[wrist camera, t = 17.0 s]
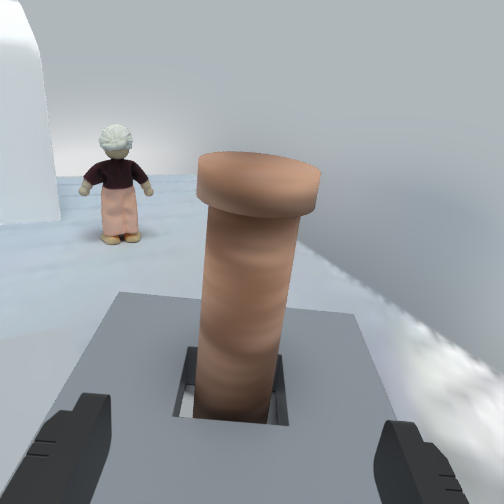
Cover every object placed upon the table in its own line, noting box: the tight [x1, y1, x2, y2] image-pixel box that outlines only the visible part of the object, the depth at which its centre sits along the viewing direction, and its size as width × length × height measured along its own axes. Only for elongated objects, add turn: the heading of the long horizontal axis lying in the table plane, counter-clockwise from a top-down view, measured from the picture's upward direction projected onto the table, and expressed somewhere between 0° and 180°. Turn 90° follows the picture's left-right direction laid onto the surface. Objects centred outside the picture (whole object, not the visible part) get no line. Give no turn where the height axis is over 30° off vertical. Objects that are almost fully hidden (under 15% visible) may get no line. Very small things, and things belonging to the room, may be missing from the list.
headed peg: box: [193, 152, 321, 424], centre depth 23 cm, size 6×6×16 cm
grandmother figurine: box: [79, 124, 154, 245], centre depth 47 cm, size 8×4×13 cm, turn 128°
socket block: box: [0, 292, 397, 504], centre depth 25 cm, size 18×18×3 cm
